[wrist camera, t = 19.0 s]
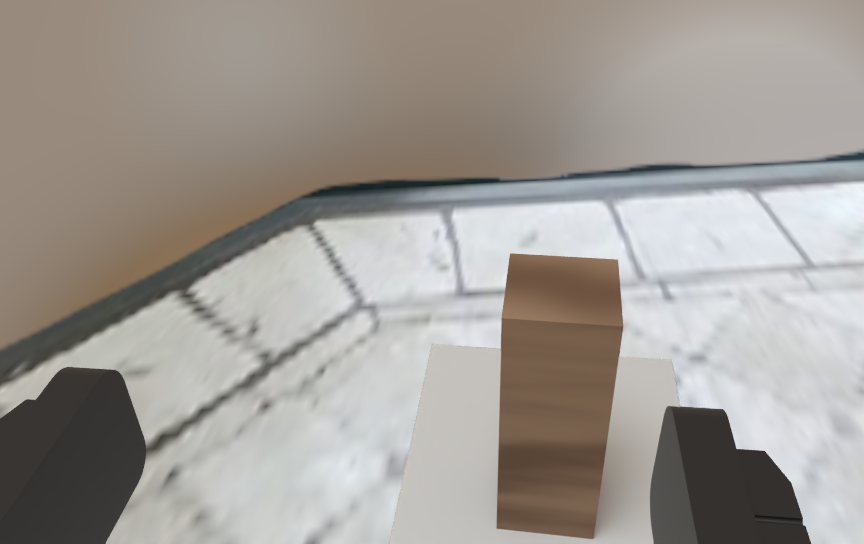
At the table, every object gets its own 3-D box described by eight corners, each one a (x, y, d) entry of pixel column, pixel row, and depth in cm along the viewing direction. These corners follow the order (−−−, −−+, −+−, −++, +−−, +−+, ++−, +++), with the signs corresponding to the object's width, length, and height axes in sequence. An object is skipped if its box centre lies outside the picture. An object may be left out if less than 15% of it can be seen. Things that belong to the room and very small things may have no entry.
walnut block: (593, 539, 40) (623, 326, 32) (496, 528, 40) (501, 318, 32) (591, 464, 44) (618, 259, 36) (503, 456, 44) (510, 253, 37)
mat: (721, 657, 35) (722, 653, 35) (374, 618, 37) (373, 613, 37) (670, 364, 51) (671, 359, 51) (432, 348, 53) (432, 344, 53)
